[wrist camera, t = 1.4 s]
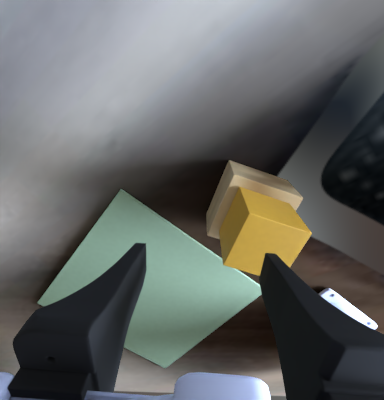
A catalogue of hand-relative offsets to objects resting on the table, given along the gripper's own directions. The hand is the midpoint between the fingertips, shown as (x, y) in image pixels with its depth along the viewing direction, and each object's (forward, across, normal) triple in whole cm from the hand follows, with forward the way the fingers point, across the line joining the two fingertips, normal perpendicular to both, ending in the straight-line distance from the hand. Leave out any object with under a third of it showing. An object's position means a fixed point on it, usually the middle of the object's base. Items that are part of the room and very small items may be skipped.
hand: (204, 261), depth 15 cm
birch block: (+10, -4, 0) cm, 11 cm away
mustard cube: (+6, -4, 0) cm, 7 cm away
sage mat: (+10, +6, +14) cm, 18 cm away
